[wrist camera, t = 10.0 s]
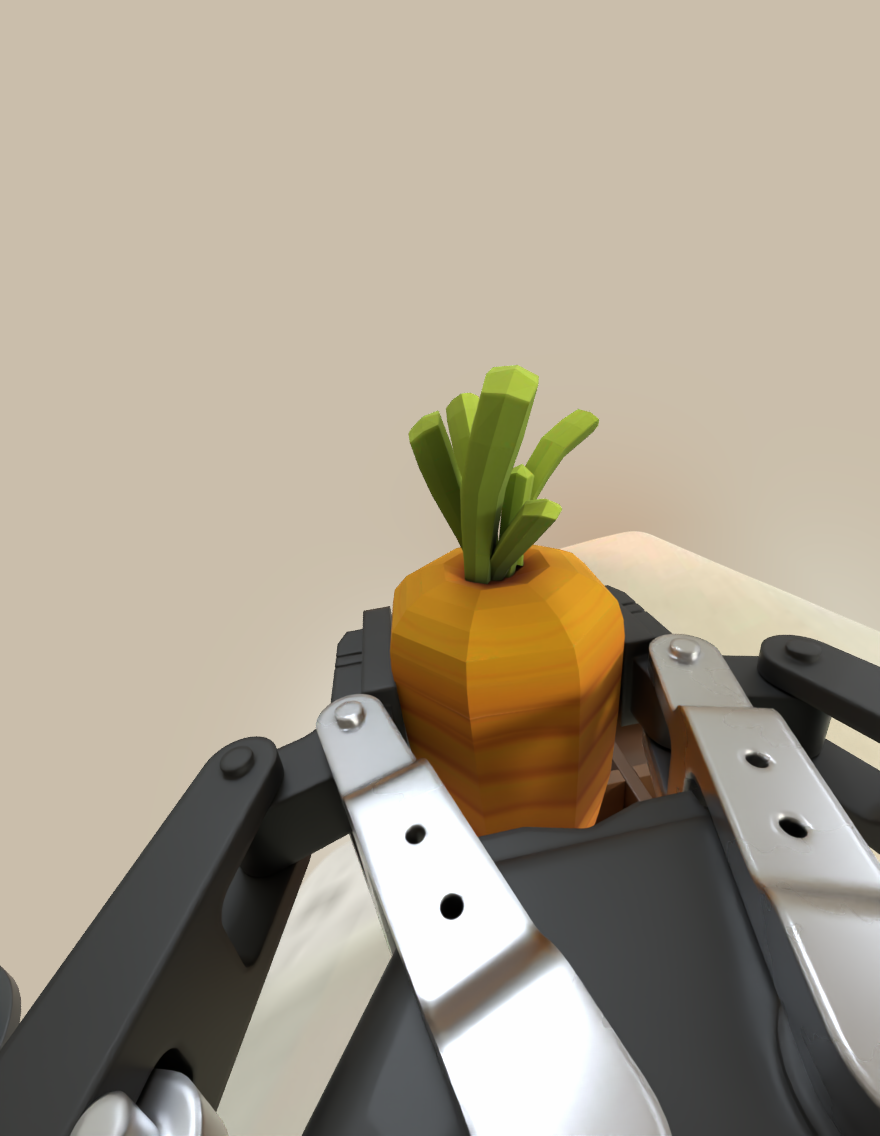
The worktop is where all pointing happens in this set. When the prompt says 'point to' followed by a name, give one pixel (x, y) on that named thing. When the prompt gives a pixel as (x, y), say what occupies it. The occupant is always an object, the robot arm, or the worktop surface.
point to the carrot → (506, 625)
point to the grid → (626, 773)
